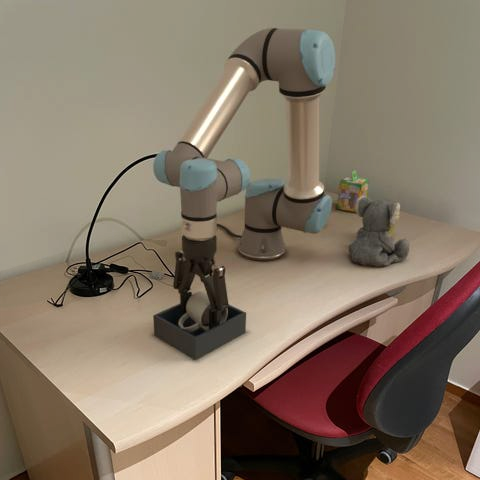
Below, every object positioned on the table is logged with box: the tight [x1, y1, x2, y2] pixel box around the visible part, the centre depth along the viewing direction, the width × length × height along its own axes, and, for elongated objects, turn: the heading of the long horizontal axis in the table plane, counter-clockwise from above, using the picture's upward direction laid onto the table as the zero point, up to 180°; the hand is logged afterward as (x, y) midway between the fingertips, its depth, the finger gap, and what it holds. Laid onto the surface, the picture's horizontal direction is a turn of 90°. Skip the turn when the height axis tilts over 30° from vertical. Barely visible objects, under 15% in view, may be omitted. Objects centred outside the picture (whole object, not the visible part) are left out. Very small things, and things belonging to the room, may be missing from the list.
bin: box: [152, 302, 247, 361], centre depth 123 cm, size 14×16×6 cm
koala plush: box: [347, 196, 410, 267], centre depth 161 cm, size 17×18×20 cm
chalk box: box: [336, 169, 370, 213], centre depth 205 cm, size 9×9×15 cm
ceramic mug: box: [179, 291, 228, 333], centre depth 121 cm, size 11×8×8 cm
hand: (200, 324), depth 123 cm, fingers closed on ceramic mug, 9 cm apart
